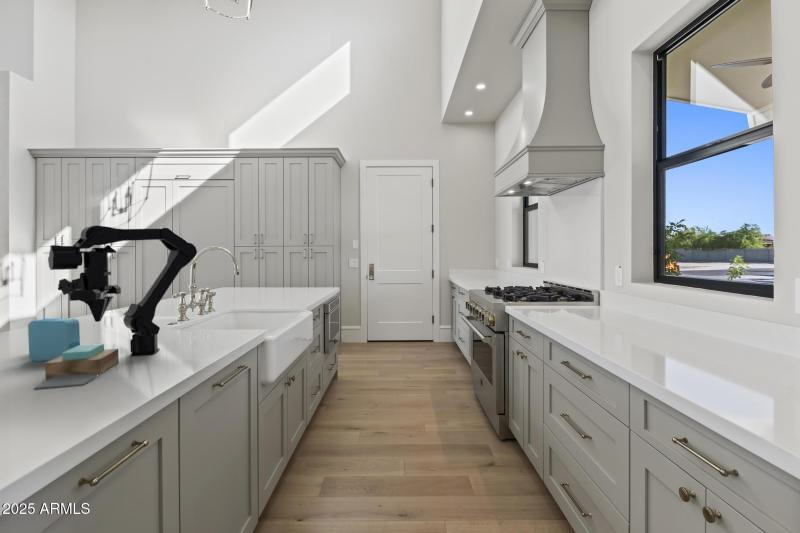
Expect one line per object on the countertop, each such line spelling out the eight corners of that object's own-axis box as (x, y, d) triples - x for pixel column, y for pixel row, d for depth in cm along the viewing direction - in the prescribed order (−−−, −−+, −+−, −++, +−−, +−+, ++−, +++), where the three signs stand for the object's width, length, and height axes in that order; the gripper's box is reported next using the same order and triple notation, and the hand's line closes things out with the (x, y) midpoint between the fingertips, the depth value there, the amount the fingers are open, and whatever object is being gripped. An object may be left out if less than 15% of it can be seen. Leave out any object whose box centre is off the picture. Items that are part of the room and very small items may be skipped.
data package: (80, 357, 123) (79, 318, 122) (68, 361, 118) (66, 321, 118) (42, 357, 123) (41, 318, 123) (28, 361, 119) (27, 321, 118)
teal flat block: (104, 350, 114) (103, 343, 114) (89, 358, 106) (89, 351, 106) (79, 352, 113) (79, 345, 113) (62, 360, 104) (62, 352, 104)
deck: (118, 362, 117) (118, 348, 117) (100, 374, 105) (100, 359, 105) (69, 365, 113) (69, 351, 113) (45, 378, 102) (45, 363, 102)
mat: (102, 373, 106) (102, 371, 106) (84, 385, 97) (84, 383, 97) (57, 376, 103) (57, 375, 103) (34, 389, 94) (34, 387, 94)
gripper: (79, 267, 124) (80, 317, 124) (44, 270, 106) (47, 329, 106) (120, 267, 127) (122, 316, 127) (94, 269, 109) (96, 326, 109)
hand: (97, 321), depth 118 cm, fingers closed
